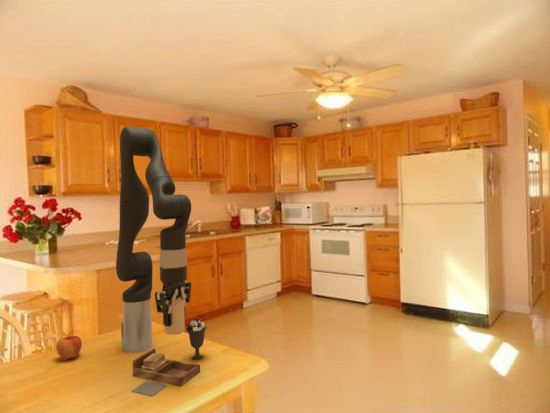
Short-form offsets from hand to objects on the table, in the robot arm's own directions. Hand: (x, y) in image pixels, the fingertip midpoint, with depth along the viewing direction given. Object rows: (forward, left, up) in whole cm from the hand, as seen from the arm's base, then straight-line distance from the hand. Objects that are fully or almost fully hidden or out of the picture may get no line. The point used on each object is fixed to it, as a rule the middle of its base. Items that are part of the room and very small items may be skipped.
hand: (174, 322), depth 110 cm
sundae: (-1, +13, -16) cm, 21 cm away
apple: (-41, -2, -16) cm, 45 cm away
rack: (-3, 0, -16) cm, 16 cm away
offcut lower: (-8, 0, -16) cm, 18 cm away
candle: (0, 0, -3) cm, 3 cm away
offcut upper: (-8, 0, -13) cm, 16 cm away
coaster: (-2, -9, -16) cm, 18 cm away
